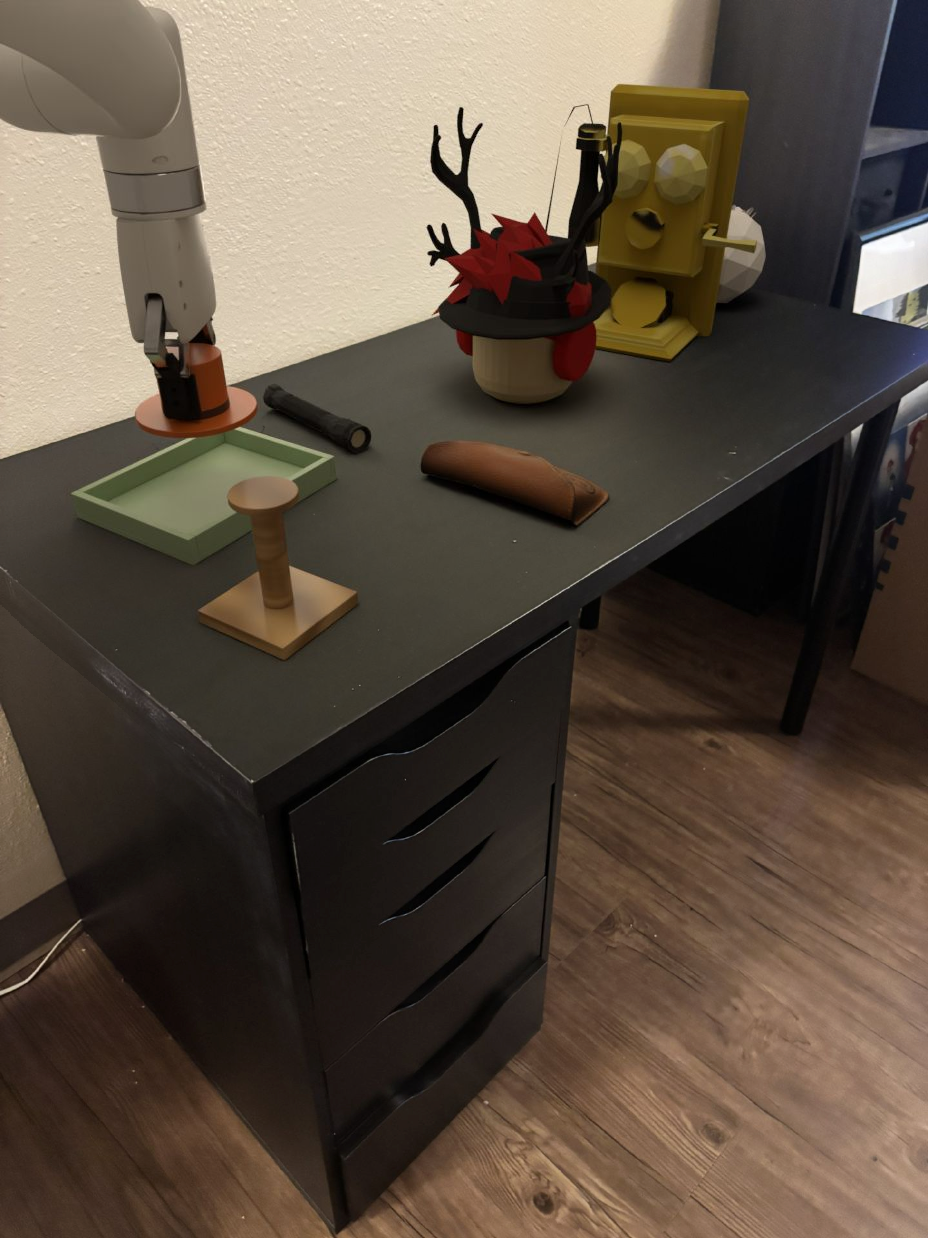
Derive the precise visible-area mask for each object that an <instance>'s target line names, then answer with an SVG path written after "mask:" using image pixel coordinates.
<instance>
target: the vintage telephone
mask: <svg viewBox="0 0 928 1238" xmlns="http://www.w3.org/2000/svg"><path fill="white" fill-rule="evenodd" d="M749 105H750V98H749V96H748V95H747V93H746V92H745V91H744V90H733V89H732V90H731V89H730V90H729V89H716V88H715V89H714V88H713V89H712V88H697V87H695V88H694V87H681V86H662V85H648V84H647V85H645V84H632V83H631V84H628V83H627V84H626V83H618V84H616V85H615V86H614V87H613V89H611V91H610V96H609V106H608V107H609V109H608V120H607V126H606V125H605V124H604V123H594V121H593V117H592V113H591V109H590V105H589V104H588V103H585V104H581V105H576V106H573V107H572V109H571V111H570V113H569V115H568V118H567V120H566V121H565V124H564V126H563V128H564V127H565V126H566V125H567V123H568V121H569V119H570V118H571V116H572V114H573V112H574V110H575V109H576V108H579V107H585V106H587V110H588V113H589V118H590V123H589V122H588V123H587V122H583V123H582V124H580V125H579V126H578V128H577V137H576V139H575V150H579V151H580V162H579V173H578V175H579V176H578V183H577V188H576V191H575V195H574V199H573V201H572V206H571V210H570V214H569V218H568V227H567V230H568V231H567V238H569V239H572V238H573V236H574V234H575V232H576V230H577V228H578V226H579V224H580V222H581V220H582V218H583V216H584V214H585V212H586V211H587V210H588V209H589V208H590V207H591V206H592V204H593V202H594V200H595V198H596V196H597V195H598V193H599V191H600V187H599V171H600V167H599V157H598V156H599V154H601V153H602V152H605V154H603V156H604V159H605V163H606V165H607V160H608V147H607V138H606V137H607V136H610V138H611V141H612V154H613V150H614V146H615V145H616V144H617V125H618V123H619V122H620V123H621V125H622V142H621V147H620V152H619V164H618V185H617V188H616V190H615V193H614V195H613V199H612V203H611V204H610V205H609V206H608V207H607V208H606V209H605V211H604V212H603V213H602V215H601V216H600V217H599V218H598V219H597V220H596V221H595V223H594V224H593V226H592V227H591V228H590V230H589V231H588V233H587V235H586V237H585V243H586V248H592V247H593V248H594V247H597V248H596V250H597V252H596V259H595V260H596V262H595V272H594V273H595V274H597V275H598V276H600V277H602V278H603V279H605V280H606V281H607V282H608V284H609V286H610V287H611V289H612V294H611V301H610V305H609V307H608V308H607V309H606V310H605V311H604V313H603V314H602V315H601V316H600V318H599V319H597V320H596V321H594V324H595V328H596V347H595V350H602V351H607V352H613V353H618V354H624V355H629V356H635V357H639V358H640V357H641V358H645V359H651V360H655V361H656V360H658V361H661V362H669V363H670V362H671V361H672V360H673V359H674V358H675V357H676V356H677V355H678V354H680V352H681V351H682V350H683V349H684V348H685V347H687V346H688V344H689V343H690V342H691V341H693V340H694V339H695V338H696V337H710V336H711V335H712V333H713V332H712V331H713V327H714V326H713V325H714V319H715V313H716V306H717V303H716V301H717V295H718V289H719V283H720V277H721V271H722V264H723V258H724V252H725V247H730V248H734V249H738V250H742V251H746V252H750V253H755V250H756V246H757V241H751V240H729V239H727V234H728V228H729V222H730V215H731V209H732V206H733V202H734V196H735V190H736V185H737V184H736V183H737V178H738V174H739V173H738V172H739V165H740V160H741V154H742V149H743V148H742V147H743V141H744V135H745V130H746V123H747V116H748V110H749ZM561 133H563V130H562V132H561ZM562 138H563V136H561V138H560V139H562ZM561 143H562V141H560V143H559V144H560V145H561ZM560 150H561V147H559V149H558V152H561V151H560ZM559 156H560V153H558V154H557V160H556V165H555V170H554V171H555V172H554V175H553V177H554V178H553V182H552V188H551V193H550V194H551V195H550V200H549V206H548V211H547V217H546V223H545V227H544V229H545V231H546V232H547V233H548V227H549V221H550V216H551V210H552V209H551V208H552V203H553V202H552V201H553V195H554V189H555V182H556V177H557V170H558V163H559ZM600 179H602V177H601V176H600Z"/></svg>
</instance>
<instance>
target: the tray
mask: <svg viewBox="0 0 928 1238" xmlns="http://www.w3.org/2000/svg"><path fill="white" fill-rule="evenodd" d="M336 467H337V466H336V457H335V455H332V454H329V453H325V452H322V451H319V450H315V449H312V448H309V447H306V446H302V445H299V444H297V443H293V442H290V441H286V440H284V439H280V438H277V437H273V436H270V435H267V434H264V433H260V432H257V431H254V430H251V429H248V428H244V427H242V426H241V427H238V428H236V429H234V430H231V431H228V432H224V433H221V434H217V435H212V436H206V437H198V438H184V439H183V440H180V441H178V442H176V443H174V444H172V445H170V446H168V447H165V448H164V449H161V450H159V451H157V452H155V453H153V454H151V455H149V456H147V457H145V458H143V459H140V460H139V461H138V460H137V461H136V462H133V463H132V464H129V465H128V466H125V467H123V468H122V469H119V470H117V471H115V472H113V473H111V474H109V475H108V474H107V476H104V477H102V478H100V479H98V480H95V481H94V482H91V483H90V484H88V485H85V486H83V487H81V488H79V489H77V490H75V491H73V492H71V493H70V496H71V500H72V503H73V507H74V511H75V514H76V517H77V518H78V519H80V520H83V521H84V522H88V523H90V524H92V525H94V526H96V527H99V528H102V529H104V530H107V531H110V532H112V533H114V534H116V535H118V536H121V537H124V538H126V539H129V540H131V541H133V542H136V543H138V544H141V545H143V546H146V547H147V548H150V549H153V550H155V551H158V552H160V553H163V554H164V555H167V556H169V557H172V558H174V559H177V560H179V561H182V562H183V563H187V564H189V565H191V566H195V565H197V564H198V563H200V562H201V561H204V560H205V559H207V558H208V557H211V556H212V555H214V554H215V553H217V552H218V551H220V550H221V549H224V548H225V547H227V546H228V545H230V544H232V543H233V542H235V541H237V540H238V539H240V538H241V537H243V536H245V535H246V534H249V533H250V532H252V526H251V519H250V515H244V514H240V513H238V512H236V511H234V510H233V509H231V507H230V506H229V504H228V498H227V494H228V492H229V490H230V489H231V488H232V487H233V486H234V485H236V484H237V483H239V482H241V481H244V480H247V479H251V478H255V477H263V476H275V477H282V478H286V479H289V480H291V481H293V482H294V483H295V484H296V485H297V487H298V489H299V499H298V501H297V503H296V504H298V503H299V502H301V501H303V500H304V499H307V498H308V497H309V496H311V495H312V494H315V493H316V492H318V491H319V490H321V489H323V488H324V487H326V486H328V485H330V484H331V483H333V482H334V481H336V480H337V469H336Z"/></svg>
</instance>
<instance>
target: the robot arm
mask: <svg viewBox="0 0 928 1238" xmlns="http://www.w3.org/2000/svg"><path fill="white" fill-rule="evenodd" d="M180 33H181V32H180V29H179V27H178V24H177V22H176V20H175V18H174V16H172V15H171V14H170V13H169V12H168V11H166V10H165V9H162V8H159V7H155V6H144V4H143V3H142V2H141V1H140V0H0V120H1V121H3V122H5V123H6V124H8V125H10V126H12V127H14V128H17V129H20V130H22V131H23V130H24V131H27V132H32V133H38V134H45V135H46V134H47V135H59V136H60V135H63V136H75V137H76V136H83V137H84V136H85V137H95V143H96V146H97V151H98V156H99V160H100V165H101V169H102V173H103V179H104V183H105V188H106V193H107V197H108V202H109V203H108V204H109V208H110V212H111V215H112V216H113V217H115V218H116V220H115V225H116V242H117V252H118V263H119V270H120V276H121V281H122V282H121V284H122V288H123V289H122V290H123V295H124V302H125V308H126V313H127V318H128V324H129V328H130V333H131V337H132V339H133V341H135V343H138V344H143V353H144V355H145V357H146V358H147V359H148V360H149V363H150V364H151V366H152V367H153V373H154V377H155V379H156V378H157V380H158V385H159V389H160V394H161V399H162V404H163V409H164V414H165V417H166V418H168V419H185V420H198V419H200V417H201V416H202V411H201V406H200V400H199V394H198V389H197V383H196V378H195V374H190V360H189V343H203V344H210V345H213V346H216V343H217V337H216V333H215V330H214V326H213V321H214V318H213V316H214V314H215V312H216V310H217V309H216V308H217V295H216V286H215V281H214V273H213V268H212V262H211V258H210V257H211V256H210V253H209V252H210V251H209V248H208V246H209V245H208V243H207V238H206V232H205V228H204V224H203V219H202V215H201V214H202V213H204V212H205V211H206V210H207V209H208V204H207V198H206V193H205V192H206V191H205V187H204V180H203V179H204V178H203V173H202V166H201V159H200V154H199V147H198V139H197V134H196V128H195V127H196V126H195V119H194V113H193V107H192V101H191V94H190V89H189V82H188V76H187V70H186V64H185V63H186V62H185V56H184V50H183V43H182V40H181V39H182V38H181V34H180ZM166 333H177V335H178V336H177V337H176V338H166ZM166 347H178V353H179V360H178V359H177V358H176V356H175V355H174V354H173V353H168V352H167V350H168V349H167V348H166ZM157 380H156V381H157ZM158 385H157V386H158Z"/></svg>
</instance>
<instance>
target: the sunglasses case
mask: <svg viewBox="0 0 928 1238" xmlns="http://www.w3.org/2000/svg"><path fill="white" fill-rule="evenodd" d="M419 467H420V472H421V473H422V474H423V475H428V476H430V477H431V476H433V477H436V478H439V479H443V480H447V481H451V482H457V483H459V484H463V485H467V486H473V487H475V488H477V489H480V490H483V491H485V492H488V493H491V494H493V495H496V496H500V497H504V498H507V499H510V500H512V501H515V502H517V503H520V504H522V505H526V506H528V507H532V508H534V509H538V510H541V511H543V512H546V513H549V514H551V515H554V516H557V517H559V518H562V519H563V520H569V521H571V523H573V524H574V525H575V526H579V525H581V524H582V523H584V522H585V521H586V520H588V519H589V518H591V517H592V515H594V514H595V513H596V512H597V511H598V510H599V509H600V508H601V507H602V506H603V505H604V504H605V503H606V502H607V501H608V500H609V499H610V494H609V492H607V491H606V490H604V488H602V487H601V486H599V485H597V484H596V483H594V482H592V481H590V480H589V479H586V478H584V477H582V476H580V475H578V474H575V473H573V472H571V471H568V470H565V469H563V468H560V467H558V466H555V465H553V464H552V463H550V462H549V461H548V460H547V459H545V458H544V457H542V456H539V455H536V454H531V453H530V452H528V451H525V450H521V449H517V448H513V447H508V446H503V445H499V444H493V443H490V442H482V441H473V440H444V441H435V442H432V443H431V444H429V445H428V446H427V447H426V448H425V449H424V452H423V454H422V456H421V459H420V465H419Z"/></svg>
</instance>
